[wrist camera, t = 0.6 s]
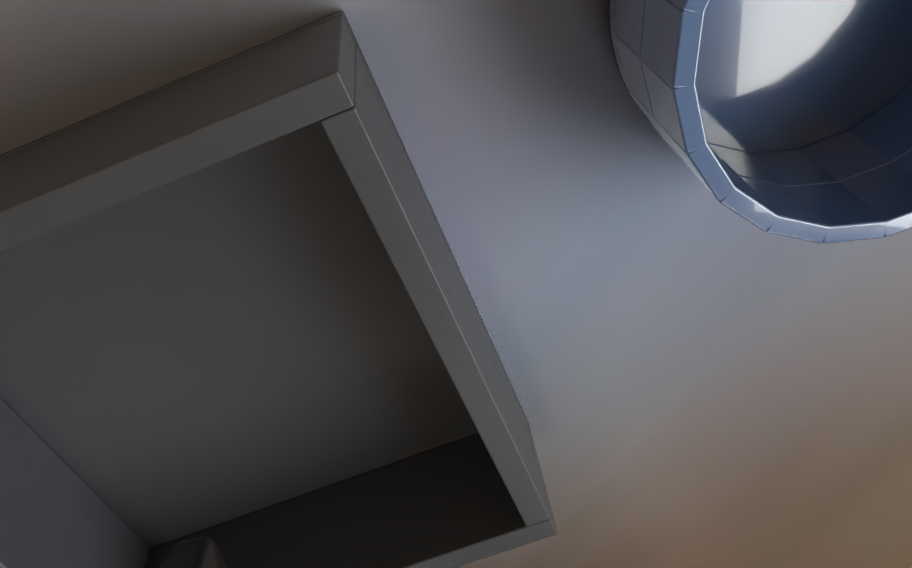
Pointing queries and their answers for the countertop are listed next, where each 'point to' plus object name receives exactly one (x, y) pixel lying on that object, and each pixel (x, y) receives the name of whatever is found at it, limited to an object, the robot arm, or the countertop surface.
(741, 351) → the countertop surface
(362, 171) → the tote
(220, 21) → the countertop surface
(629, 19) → the rice bowl
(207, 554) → the robot arm
